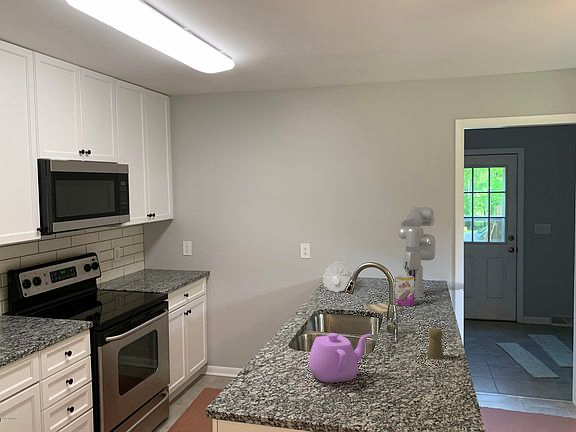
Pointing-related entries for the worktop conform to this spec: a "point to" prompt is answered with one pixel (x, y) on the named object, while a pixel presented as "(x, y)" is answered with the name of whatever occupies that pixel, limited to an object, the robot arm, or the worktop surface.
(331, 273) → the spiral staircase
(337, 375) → the teapot
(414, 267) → the robot arm
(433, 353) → the brown pepper mill
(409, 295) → the candy bar box
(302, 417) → the worktop surface
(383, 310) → the maple board
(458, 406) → the worktop surface
